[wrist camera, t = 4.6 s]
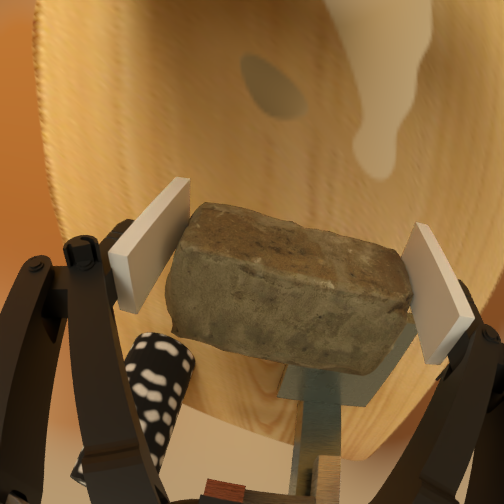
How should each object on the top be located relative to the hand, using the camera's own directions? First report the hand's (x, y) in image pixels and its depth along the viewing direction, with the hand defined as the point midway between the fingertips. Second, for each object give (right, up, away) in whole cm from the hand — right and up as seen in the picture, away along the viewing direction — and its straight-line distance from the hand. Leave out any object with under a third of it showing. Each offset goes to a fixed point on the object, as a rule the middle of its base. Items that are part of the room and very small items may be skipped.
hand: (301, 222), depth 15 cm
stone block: (0, -2, +2) cm, 3 cm away
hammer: (0, -23, +13) cm, 26 cm away
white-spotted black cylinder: (-14, -14, +23) cm, 30 cm away
